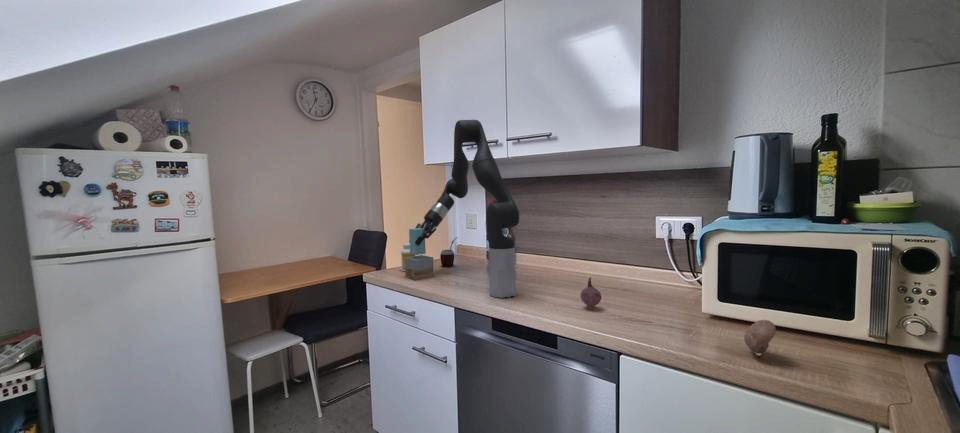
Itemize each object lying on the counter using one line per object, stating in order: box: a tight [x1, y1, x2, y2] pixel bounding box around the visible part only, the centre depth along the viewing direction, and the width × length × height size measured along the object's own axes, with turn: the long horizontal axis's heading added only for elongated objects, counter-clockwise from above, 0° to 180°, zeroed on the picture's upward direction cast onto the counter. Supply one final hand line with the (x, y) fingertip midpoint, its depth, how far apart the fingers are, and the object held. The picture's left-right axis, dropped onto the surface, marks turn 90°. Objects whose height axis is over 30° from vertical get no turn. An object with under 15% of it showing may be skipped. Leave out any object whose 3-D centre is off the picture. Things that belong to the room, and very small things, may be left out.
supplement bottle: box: [400, 242, 416, 273], centre depth 174 cm, size 7×7×13 cm
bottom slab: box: [404, 267, 434, 282], centre depth 160 cm, size 9×9×4 cm
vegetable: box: [580, 277, 602, 308], centre depth 114 cm, size 6×6×10 cm
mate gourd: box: [439, 236, 459, 268], centre depth 181 cm, size 8×8×15 cm
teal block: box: [408, 227, 427, 256], centre depth 160 cm, size 5×5×11 cm
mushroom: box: [743, 319, 777, 354], centre depth 80 cm, size 8×6×8 cm
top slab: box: [405, 254, 434, 271], centre depth 160 cm, size 9×9×4 cm
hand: (413, 243), depth 158 cm, fingers closed on teal block, 5 cm apart
